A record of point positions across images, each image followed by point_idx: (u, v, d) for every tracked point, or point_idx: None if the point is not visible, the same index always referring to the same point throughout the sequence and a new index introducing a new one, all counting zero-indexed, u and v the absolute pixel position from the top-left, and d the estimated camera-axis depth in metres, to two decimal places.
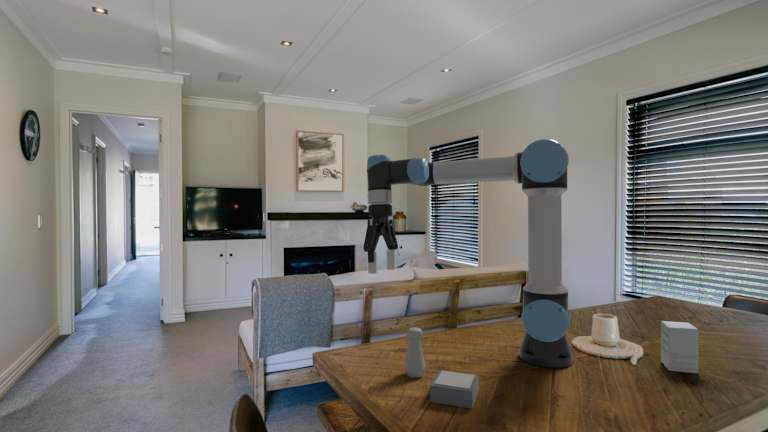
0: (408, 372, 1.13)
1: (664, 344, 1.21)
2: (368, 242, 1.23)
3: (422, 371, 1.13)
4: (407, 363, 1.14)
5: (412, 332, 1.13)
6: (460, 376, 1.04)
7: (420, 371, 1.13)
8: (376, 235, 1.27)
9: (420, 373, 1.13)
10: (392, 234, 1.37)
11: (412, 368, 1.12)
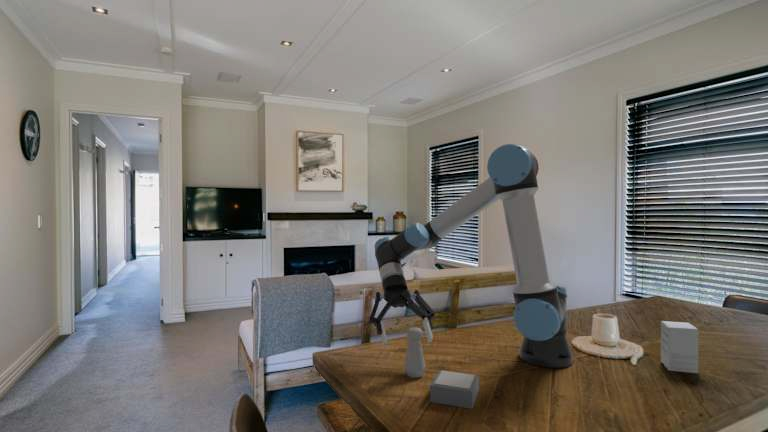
0: (408, 372, 1.13)
1: (664, 344, 1.21)
2: None
3: (422, 371, 1.13)
4: (407, 363, 1.14)
5: (412, 332, 1.13)
6: (460, 376, 1.04)
7: (420, 371, 1.13)
8: None
9: (420, 373, 1.13)
10: (422, 304, 1.27)
11: (412, 368, 1.12)
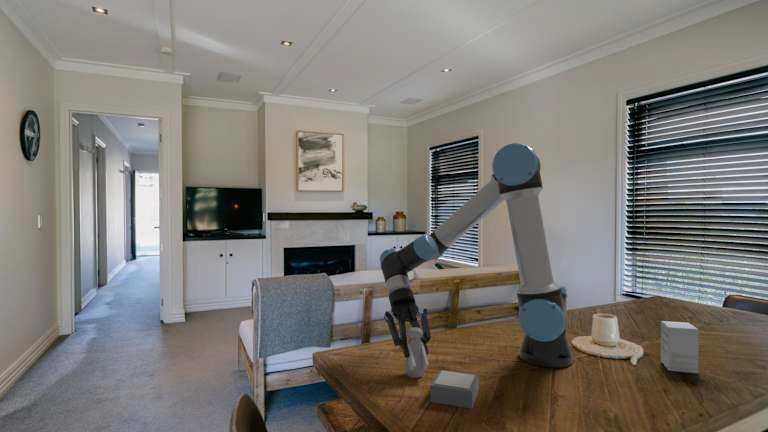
0: (408, 372, 1.13)
1: (664, 344, 1.21)
2: (394, 337, 1.16)
3: (422, 371, 1.13)
4: (407, 363, 1.14)
5: (412, 332, 1.13)
6: (460, 376, 1.04)
7: (420, 371, 1.13)
8: (401, 326, 1.18)
9: (420, 373, 1.13)
10: (423, 323, 1.20)
11: None
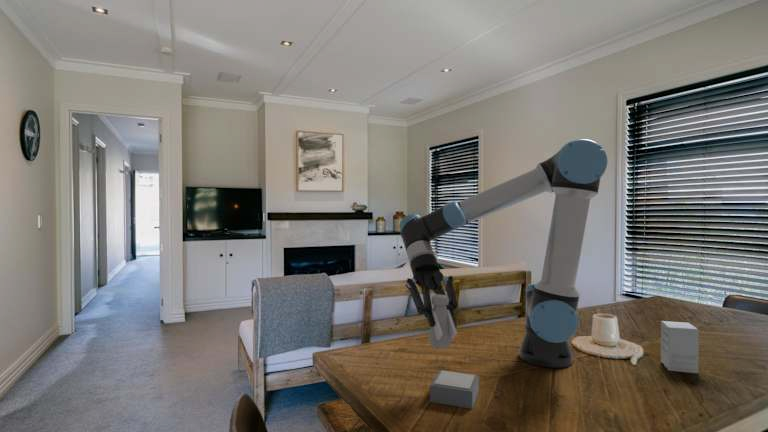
0: (434, 342, 1.04)
1: (664, 344, 1.21)
2: (417, 305, 1.06)
3: (449, 341, 1.04)
4: (432, 333, 1.04)
5: (438, 299, 1.03)
6: (460, 376, 1.04)
7: (447, 341, 1.03)
8: (424, 293, 1.08)
9: (447, 344, 1.03)
10: (449, 291, 1.10)
11: None
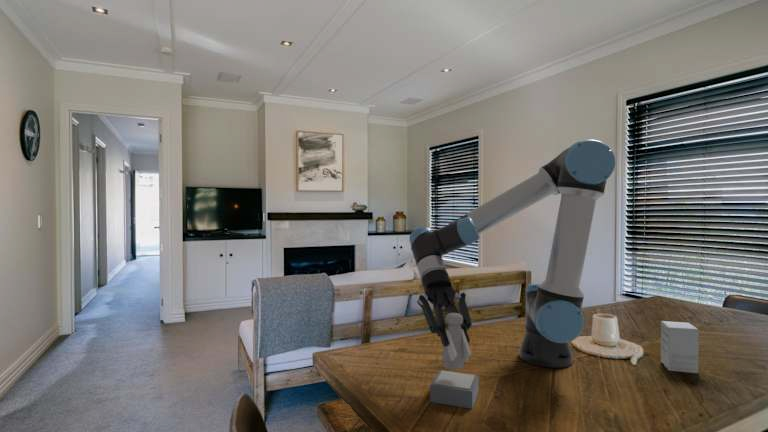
0: (447, 363, 1.00)
1: (664, 344, 1.21)
2: (430, 323, 1.03)
3: (463, 362, 1.00)
4: (446, 353, 1.01)
5: (452, 318, 1.00)
6: (460, 376, 1.04)
7: (461, 362, 1.00)
8: (437, 311, 1.05)
9: (461, 364, 1.00)
10: (462, 309, 1.07)
11: None
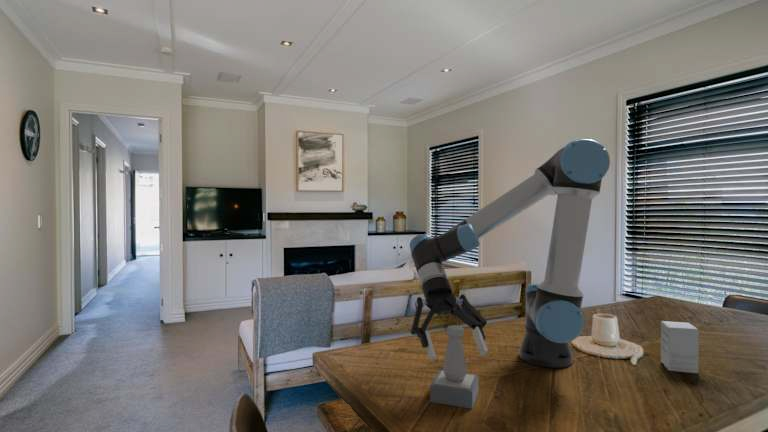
0: (448, 376, 1.00)
1: (664, 344, 1.21)
2: (413, 324, 1.03)
3: (464, 374, 1.00)
4: (447, 365, 1.01)
5: (453, 331, 1.00)
6: None
7: (462, 374, 1.00)
8: (428, 314, 1.05)
9: (462, 377, 1.00)
10: (470, 310, 1.09)
11: (453, 371, 0.99)
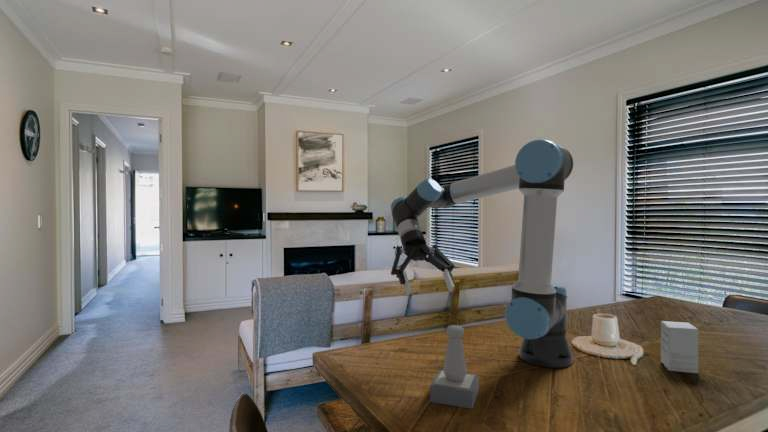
0: (448, 376, 1.00)
1: (664, 344, 1.21)
2: None
3: (464, 374, 1.00)
4: (447, 365, 1.01)
5: (453, 331, 1.00)
6: None
7: (462, 374, 1.00)
8: None
9: (462, 377, 1.00)
10: (441, 257, 1.30)
11: (453, 371, 0.99)
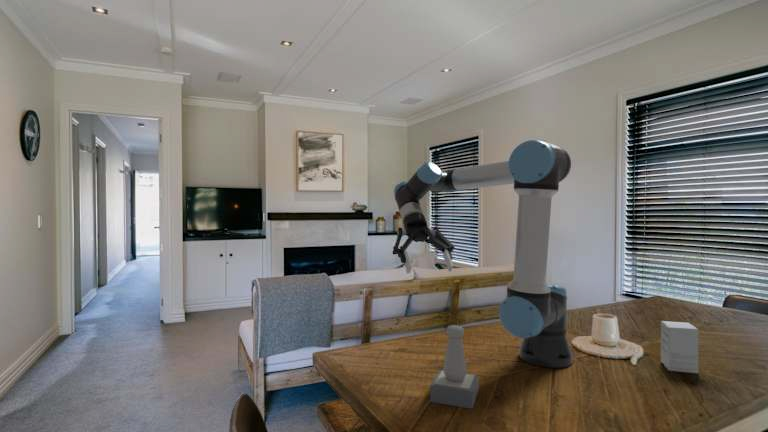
0: (448, 376, 1.00)
1: (664, 344, 1.21)
2: (394, 246, 1.29)
3: (464, 374, 1.00)
4: (447, 365, 1.01)
5: (453, 331, 1.00)
6: None
7: (462, 374, 1.00)
8: (406, 240, 1.31)
9: (462, 377, 1.00)
10: (441, 238, 1.35)
11: (453, 371, 0.99)
